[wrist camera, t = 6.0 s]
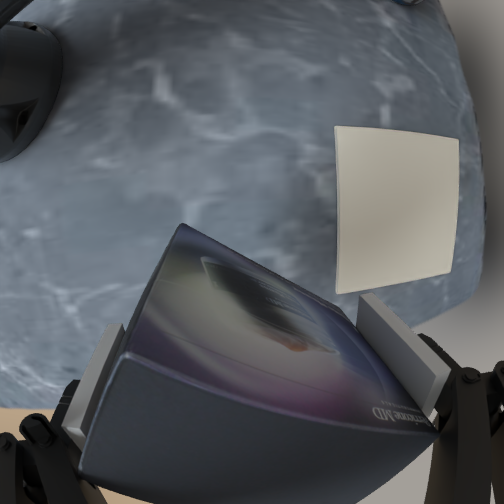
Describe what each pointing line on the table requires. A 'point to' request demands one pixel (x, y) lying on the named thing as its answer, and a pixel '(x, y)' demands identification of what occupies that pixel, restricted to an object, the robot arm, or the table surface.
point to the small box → (246, 392)
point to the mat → (394, 206)
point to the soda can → (407, 2)
